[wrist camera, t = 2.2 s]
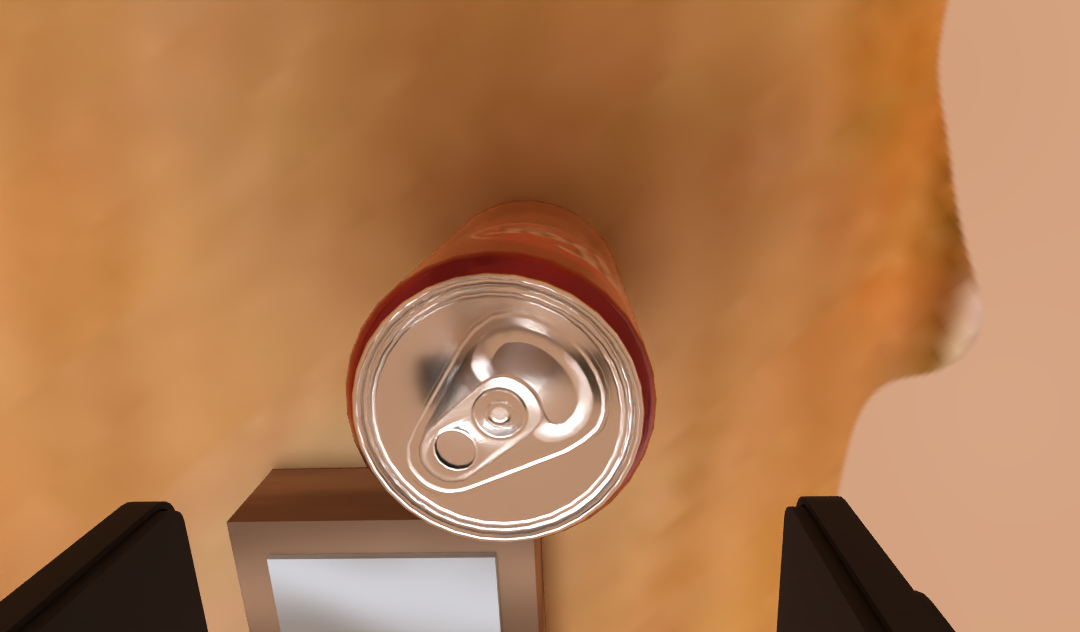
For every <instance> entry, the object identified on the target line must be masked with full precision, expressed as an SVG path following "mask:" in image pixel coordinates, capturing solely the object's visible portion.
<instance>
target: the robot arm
mask: <svg viewBox="0 0 1080 632" xmlns="http://www.w3.org/2000/svg"><path fill="white" fill-rule="evenodd" d="M0 632H208V629H207V624H206V620H205V615H204V610H203V606H202V601H201V596H200V592H199V587H198V582H197V578H196V573H195V568H194V564H193V559H192V554H191V550H190V545H189V540H188V536H187V531H186V526H185V522H184V518H183V516H182V514H181V513H180V512H178V511H175V509H174V507H173V506H172V505H171V504H170V503H168V502H127V503H126V504H124V505H122V506H121V507H119V508H118V509H117V510H116V511H114V512H113V513H112V514H111V515H109V516H108V517H107V518H105V519H104V520H103V521H102V522H100V523H99V524H98V525H97V526H95V527H94V528H93V529H92V530H90V531H89V532H88V533H86V534H85V535H84V536H83V537H81V538H80V539H79V540H78V541H76V542H75V543H74V544H73V545H71V546H70V547H69V548H68V549H66V550H65V551H64V552H62V553H61V554H60V555H59V556H57V557H56V558H55V559H54V560H52V561H51V562H50V563H49V564H47V565H46V566H45V567H43V568H42V569H41V570H40V571H38V572H37V573H36V574H35V575H33V576H32V577H31V578H30V579H28V580H27V581H26V582H25V583H23V584H22V585H21V586H19V587H18V588H17V589H16V590H14V591H13V592H12V593H11V594H9V595H8V596H7V597H6V598H4V599H3V600H2V601H0ZM777 632H955V631H954V629H953V628H952V627H951V626H950V624H949V623H948V622H947V620H946V619H945V618H944V617H943V615H942V614H941V613H940V611H939V610H938V609H937V608H936V606H935V605H934V604H933V603H932V601H931V600H930V599H929V598H928V597H927V596H925V594H923V593H921V592H918V591H914V590H913V589H912V587H911V586H910V585H909V583H908V582H907V581H906V579H905V578H904V577H903V575H902V574H901V573H900V571H899V570H898V569H897V568H896V566H895V565H894V564H893V562H892V561H891V560H890V558H889V557H888V556H887V554H886V553H885V552H884V551H883V549H882V548H881V547H880V545H879V544H878V543H877V541H876V540H875V539H874V538H873V536H872V535H871V534H870V532H869V531H868V530H867V528H866V527H865V526H864V524H863V523H862V522H861V520H860V519H859V518H858V516H857V515H856V514H855V513H854V511H853V510H852V509H851V507H850V506H849V505H848V503H847V502H846V501H845V500H844V499H843V498H842V497H839V496H804V497H800V498H799V499H798V502H797V506H796V507H787V508H786V511H785V516H784V529H783V545H782V560H781V575H780V590H779V605H778V620H777Z"/></svg>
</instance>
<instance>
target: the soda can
mask: <svg viewBox="0 0 1080 632" xmlns="http://www.w3.org/2000/svg"><path fill="white" fill-rule="evenodd" d="M346 398H347V415H348V418H349V422H350V426H351V430H352V434H353V437H354V441H355V443H356V445H357V447H358V449H359V451H360V453H361V456H362V458H363V460H364V462H365V464H366V466H367V467H368V468H369V470H370V471H371V472H372V474H373V475H374V476H375V478H376V479H377V480H378V482H379V483H380V484H381V486H382V487H383V488H384V489H385V490H386V491H387V492H388V493H389V494H390V495H391V496H392V497H393V498H394V499H396V500H397V501H398V502H399V503H400V504H401V505H402V506H403V507H404V508H406V509H407V510H408V511H410V512H412V513H413V514H415V515H416V516H418V517H419V518H421V519H423V520H424V521H426V522H427V523H429V524H431V525H433V526H436V527H438V528H440V529H443V530H445V531H447V532H450V533H452V534H455V535H459V536H463V537H468V538H472V539H476V540H480V541H496V542H514V541H523V540H532V539H538V538H542V537H545V536H548V535H552V534H555V533H559V532H562V531H565V530H567V529H569V528H571V527H573V526H575V525H577V524H579V523H581V522H583V521H585V520H587V519H589V518H591V517H592V516H593V515H595V514H596V513H597V512H598V511H600V510H601V509H602V508H604V507H605V506H606V505H608V504H609V503H610V502H611V501H612V500H613V499H614V498H615V497H616V496H617V495H618V494H619V492H620V491H621V490H622V489H623V488H624V487H625V486H626V485H627V483H628V482H629V481H630V480H631V478H632V476H633V474H634V473H635V471H636V469H637V468H638V466H639V464H640V462H641V461H642V459H643V457H644V455H645V453H646V450H647V447H648V444H649V441H650V438H651V435H652V432H653V428H654V419H655V410H656V391H655V383H654V374H653V369H652V366H651V363H650V360H649V357H648V354H647V351H646V349H645V346H644V343H643V340H642V337H641V334H640V332H639V329H638V326H637V323H636V320H635V318H634V315H633V312H632V309H631V306H630V304H629V301H628V298H627V295H626V293H625V290H624V287H623V284H622V281H621V279H620V276H619V273H618V270H617V267H616V265H615V262H614V259H613V256H612V254H611V252H610V251H609V249H608V247H607V246H606V244H605V242H604V240H603V239H602V238H601V237H600V236H599V234H598V233H597V232H596V231H595V230H594V229H593V228H592V227H591V225H589V224H588V223H586V222H585V221H584V220H582V219H581V218H580V217H578V216H577V215H576V214H574V213H572V212H570V211H567V210H565V209H563V208H561V207H559V206H555V205H551V204H547V203H543V202H534V201H518V202H512V203H505V204H501V205H499V206H496V207H493V208H490V209H488V210H485V211H484V212H482V213H481V214H479V215H477V216H476V217H474V218H473V219H471V220H470V221H469V222H467V223H466V224H465V225H464V226H463V227H462V228H461V229H460V230H458V231H457V232H456V233H455V234H454V235H453V236H452V237H451V238H449V239H448V240H447V241H446V242H445V243H444V244H443V245H442V246H440V247H439V248H438V249H437V250H436V251H435V252H434V253H433V254H431V255H430V256H429V257H428V258H427V259H426V260H425V261H424V262H423V263H421V264H420V265H419V266H418V267H417V268H416V269H415V270H414V271H412V272H411V273H410V274H409V275H408V276H407V277H406V278H405V279H403V280H402V281H401V282H400V283H399V284H398V285H397V286H396V287H395V288H394V289H393V290H392V291H391V292H390V293H388V294H387V295H386V296H385V297H384V298H383V299H382V300H381V301H380V302H379V303H378V304H377V305H376V307H375V308H374V310H373V311H372V313H371V314H370V316H369V317H368V319H367V320H366V322H365V323H364V325H363V326H362V327H361V329H360V332H359V334H358V337H357V339H356V342H355V344H354V347H353V349H352V352H351V354H350V360H349V366H348V372H347V378H346Z"/></svg>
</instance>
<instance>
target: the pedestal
mask: <svg viewBox="0 0 1080 632" xmlns="http://www.w3.org/2000/svg"><path fill="white" fill-rule="evenodd" d="M227 526H228V531H229V536H230V541H231V545H232V550H233V555H234V560H235V564H236V569H237V574H238V579H239V583H240V588H241V593H242V598H243V602H244V607H245V612H246V617H247V621H248V626H249V631H250V632H546V627H545V607H544V587H543V567H542V546H541V538H538V539H532V540H523V541H514V542H496V541H480V540H476V539H472V538H468V537H463V536H459V535H455V534H452V533H450V532H447V531H445V530H443V529H440V528H438V527H436V526H433V525H431V524H429V523H427V522H426V521H424V520H423V519H421V518H419V517H418V516H416V515H415V514H413V513H412V512H410V511H408V510H407V509H406V508H404V507H403V506H402V505H401V504H400V503H399V502H398V501H397V500H396V499H394V498H393V497H392V496H391V495H390V494H389V493H388V492H387V491H386V490H385V489H384V488H383V487H382V486H381V484H380V483H379V482H378V480H377V479H376V478H375V476H374V475H373V474H372V472H371V471H370V470H369V468H331V469H273V470H272V471H271V472H270V473H269V474H268V476H267V477H266V478H265V479H264V480H263V481H262V482H261V484H260V485H259V486H258V487H257V488H256V489H255V490H254V492H253V493H252V494H251V495H250V496H249V497H248V498H247V499H246V501H245V502H244V503H243V504H242V505H241V506H240V507H239V509H238V510H237V511H236V512H235V513H234V514H233V515H232V517H231V518H230V519H229V520H228V521H227Z"/></svg>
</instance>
